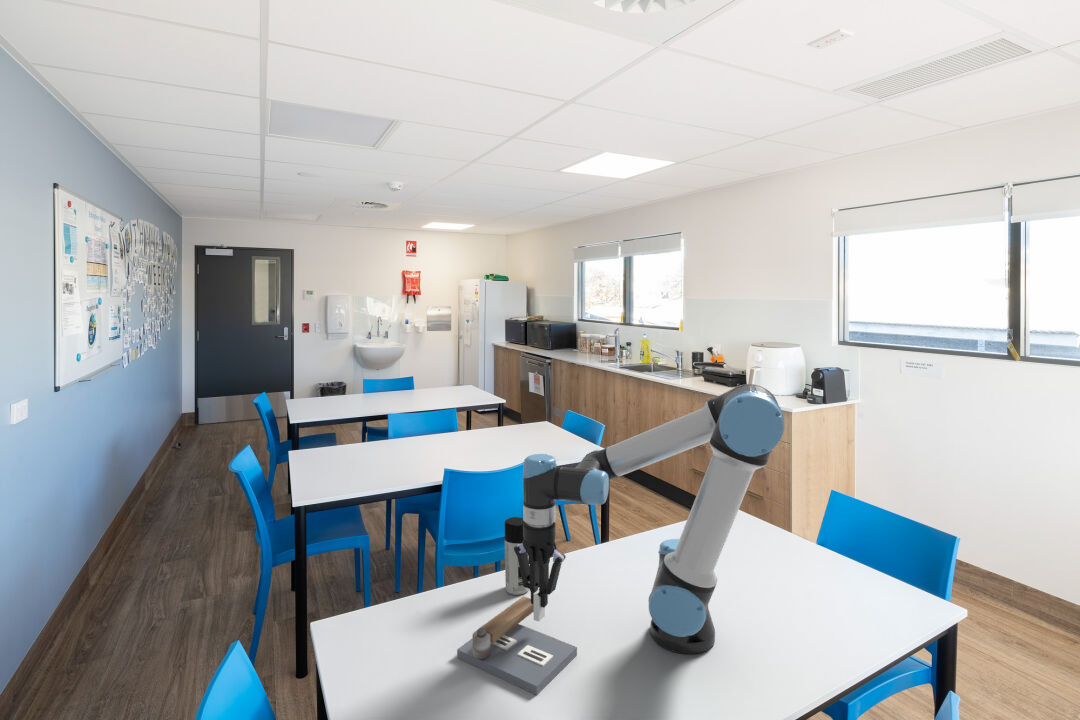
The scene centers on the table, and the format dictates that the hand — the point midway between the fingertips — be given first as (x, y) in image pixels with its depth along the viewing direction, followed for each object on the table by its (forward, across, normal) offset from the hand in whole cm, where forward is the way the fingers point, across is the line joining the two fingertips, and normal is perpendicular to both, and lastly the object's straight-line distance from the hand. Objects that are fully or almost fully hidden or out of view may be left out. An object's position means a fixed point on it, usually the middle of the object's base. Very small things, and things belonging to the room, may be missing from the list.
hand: (539, 617), depth 135 cm
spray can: (+6, -18, +18) cm, 26 cm away
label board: (+6, -2, -7) cm, 10 cm away
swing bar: (+4, -6, -5) cm, 9 cm away
